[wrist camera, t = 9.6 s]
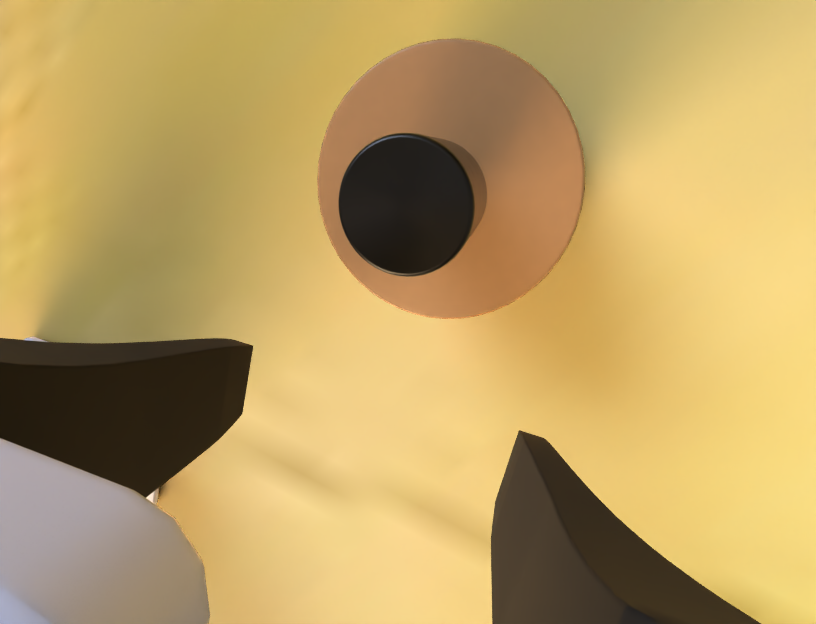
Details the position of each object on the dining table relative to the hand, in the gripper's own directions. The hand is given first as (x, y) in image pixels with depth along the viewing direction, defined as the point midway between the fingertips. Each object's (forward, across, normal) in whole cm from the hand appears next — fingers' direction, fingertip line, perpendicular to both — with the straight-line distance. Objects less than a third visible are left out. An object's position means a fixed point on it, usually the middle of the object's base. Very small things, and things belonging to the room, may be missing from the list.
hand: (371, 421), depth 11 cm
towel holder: (+9, 0, -7) cm, 11 cm away
